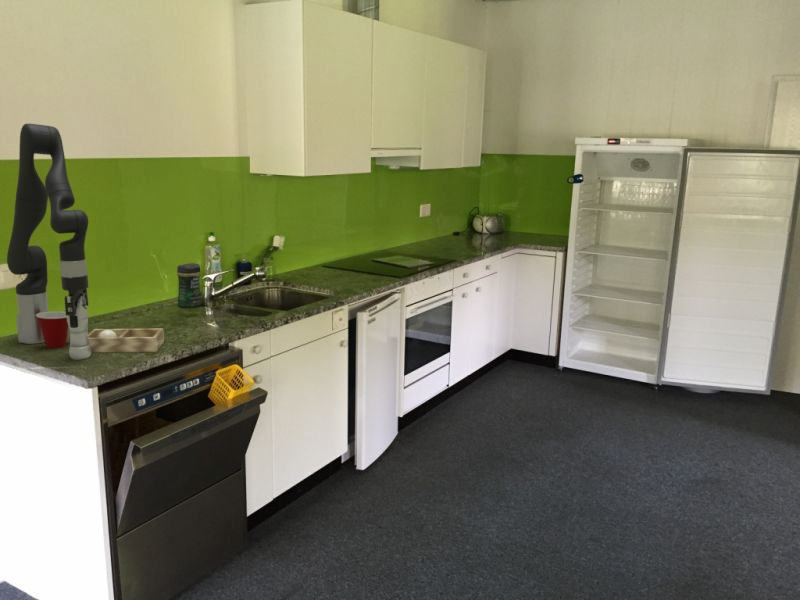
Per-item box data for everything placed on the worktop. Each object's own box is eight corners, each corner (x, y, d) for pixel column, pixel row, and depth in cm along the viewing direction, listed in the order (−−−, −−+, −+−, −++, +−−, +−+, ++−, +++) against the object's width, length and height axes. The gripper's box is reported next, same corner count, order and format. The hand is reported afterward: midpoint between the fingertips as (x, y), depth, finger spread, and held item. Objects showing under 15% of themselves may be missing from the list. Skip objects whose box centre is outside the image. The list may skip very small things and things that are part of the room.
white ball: (96, 349, 225) (95, 332, 224) (101, 344, 231) (100, 327, 229) (115, 349, 226) (113, 332, 224) (119, 344, 231) (118, 327, 230)
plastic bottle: (68, 363, 213) (62, 301, 208) (71, 356, 219) (66, 297, 215) (90, 361, 215) (85, 300, 210) (93, 355, 221) (88, 296, 217)
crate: (84, 354, 222) (82, 338, 220) (95, 344, 233) (94, 329, 232) (156, 353, 225) (155, 337, 224) (164, 343, 236) (163, 328, 235)
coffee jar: (187, 309, 286) (185, 266, 282) (175, 306, 290) (173, 264, 286) (205, 305, 294) (203, 263, 290) (193, 302, 298) (191, 261, 294)
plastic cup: (81, 346, 230) (78, 312, 228) (50, 354, 221) (46, 318, 219) (63, 341, 236) (60, 308, 234) (32, 348, 227) (29, 313, 225)
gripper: (69, 270, 217) (73, 318, 221) (53, 278, 204) (58, 330, 207) (93, 270, 218) (97, 318, 222) (79, 278, 205) (84, 329, 208)
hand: (78, 324), depth 214 cm, fingers open, 8 cm apart
